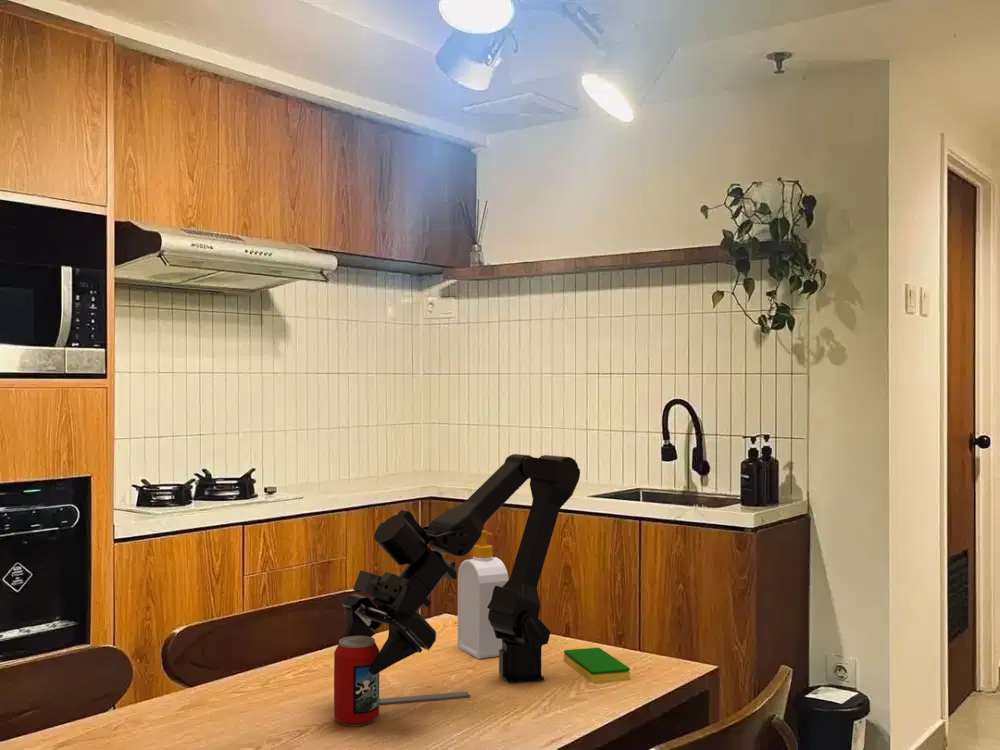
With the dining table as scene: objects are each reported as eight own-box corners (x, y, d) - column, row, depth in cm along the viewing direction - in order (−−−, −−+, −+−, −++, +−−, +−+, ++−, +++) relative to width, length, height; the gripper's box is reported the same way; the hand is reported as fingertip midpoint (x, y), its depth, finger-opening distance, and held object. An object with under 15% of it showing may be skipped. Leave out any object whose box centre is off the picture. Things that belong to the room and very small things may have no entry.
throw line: (467, 693, 158) (467, 691, 158) (470, 697, 156) (470, 695, 156) (350, 703, 153) (350, 701, 153) (352, 707, 151) (352, 705, 151)
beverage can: (370, 729, 141) (370, 647, 141) (326, 726, 143) (327, 645, 143) (385, 714, 148) (385, 635, 148) (343, 711, 149) (343, 633, 149)
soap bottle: (453, 648, 184) (454, 528, 185) (485, 643, 188) (486, 526, 188) (475, 660, 177) (476, 535, 177) (508, 655, 180) (509, 532, 180)
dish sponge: (592, 685, 164) (592, 671, 164) (563, 663, 177) (563, 649, 177) (630, 682, 166) (630, 668, 166) (599, 659, 179) (599, 646, 179)
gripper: (353, 543, 156) (290, 621, 149) (420, 559, 142) (355, 647, 134) (393, 586, 161) (334, 664, 153) (462, 606, 146) (401, 693, 139)
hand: (354, 666), depth 145 cm, fingers open, 9 cm apart
